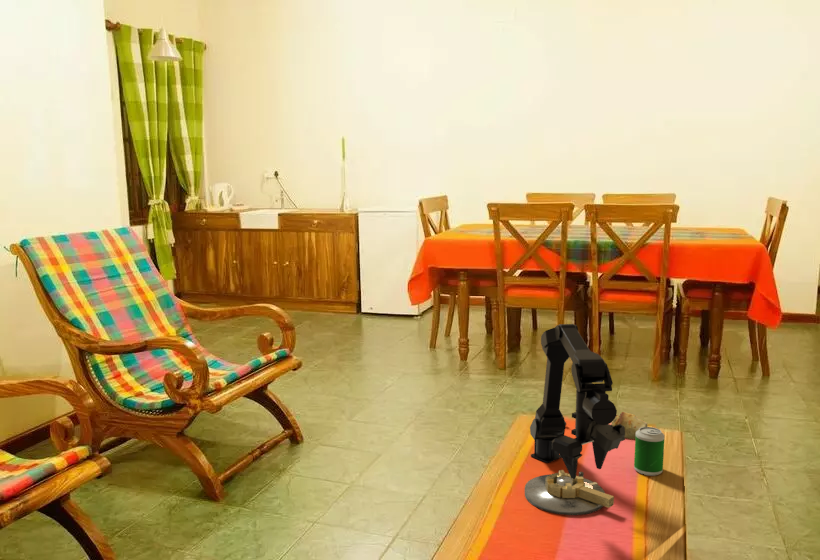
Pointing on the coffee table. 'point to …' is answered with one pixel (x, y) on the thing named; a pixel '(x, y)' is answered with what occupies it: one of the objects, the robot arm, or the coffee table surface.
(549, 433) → the robot arm
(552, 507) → the flange
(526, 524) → the coffee table surface
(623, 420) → the brown rock
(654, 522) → the coffee table surface
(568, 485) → the brass ring wrench
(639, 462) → the soda can
